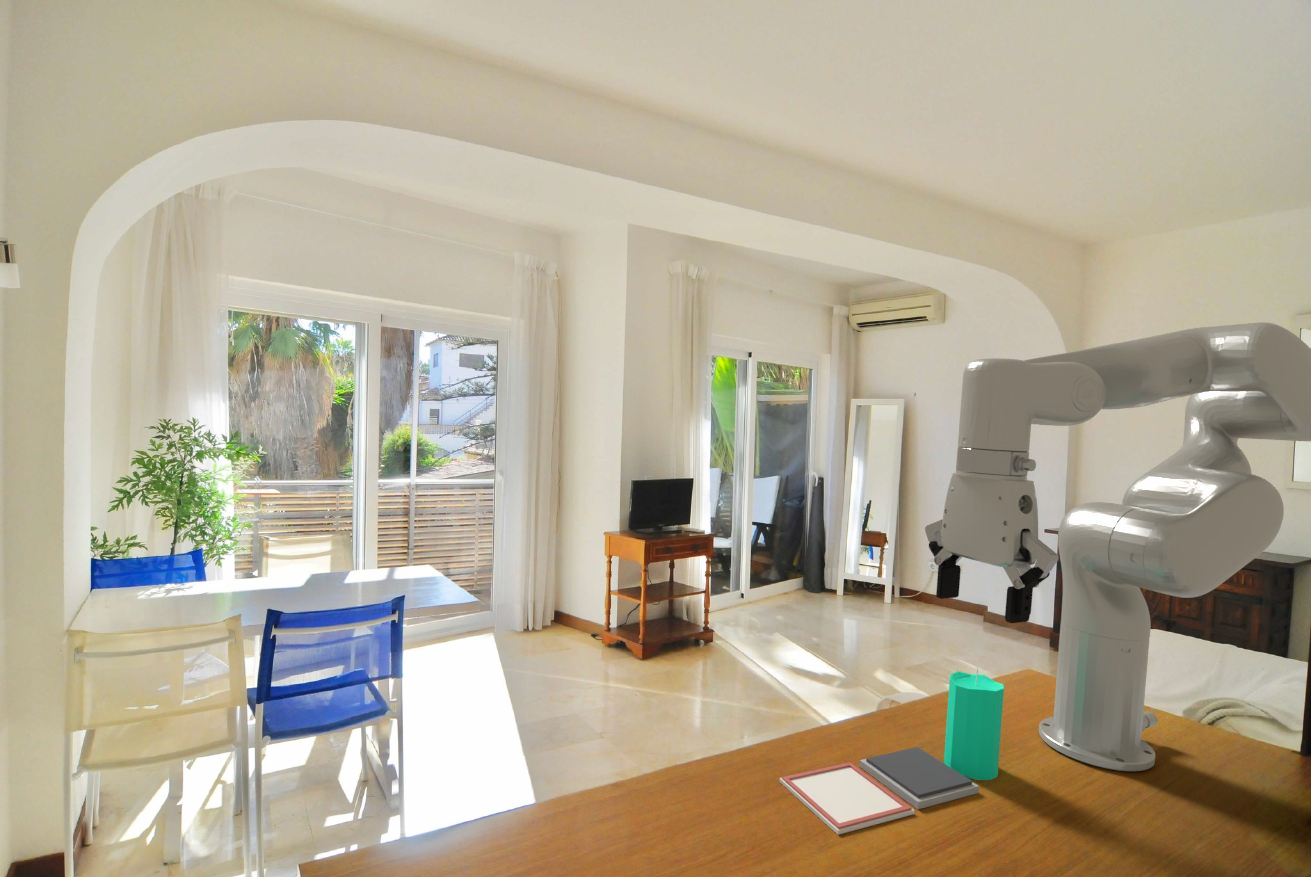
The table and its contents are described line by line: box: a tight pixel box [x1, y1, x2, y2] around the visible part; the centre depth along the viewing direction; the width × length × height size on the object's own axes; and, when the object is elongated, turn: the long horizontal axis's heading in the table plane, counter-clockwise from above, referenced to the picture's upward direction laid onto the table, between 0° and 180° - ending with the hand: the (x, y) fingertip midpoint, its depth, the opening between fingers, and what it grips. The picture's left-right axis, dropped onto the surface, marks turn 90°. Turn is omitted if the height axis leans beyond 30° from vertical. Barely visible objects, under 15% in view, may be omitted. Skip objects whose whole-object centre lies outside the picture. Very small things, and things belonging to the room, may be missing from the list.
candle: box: [943, 668, 1005, 781], centre depth 81 cm, size 6×6×12 cm
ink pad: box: [859, 746, 980, 810], centre depth 78 cm, size 9×9×1 cm
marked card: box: [778, 761, 915, 836], centre depth 73 cm, size 10×10×1 cm
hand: (980, 608), depth 80 cm, fingers open, 9 cm apart
